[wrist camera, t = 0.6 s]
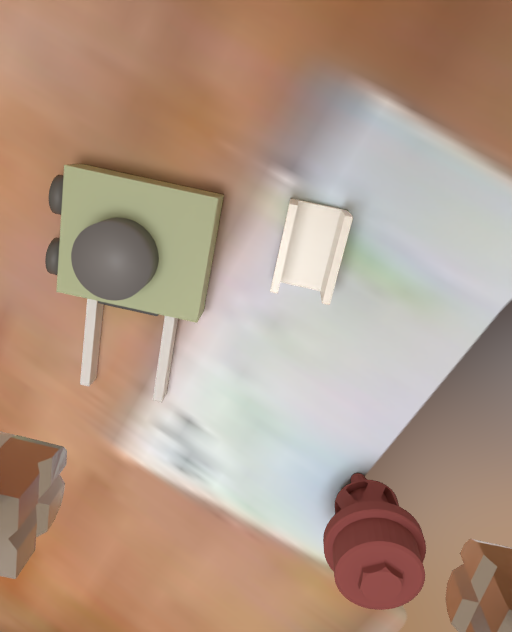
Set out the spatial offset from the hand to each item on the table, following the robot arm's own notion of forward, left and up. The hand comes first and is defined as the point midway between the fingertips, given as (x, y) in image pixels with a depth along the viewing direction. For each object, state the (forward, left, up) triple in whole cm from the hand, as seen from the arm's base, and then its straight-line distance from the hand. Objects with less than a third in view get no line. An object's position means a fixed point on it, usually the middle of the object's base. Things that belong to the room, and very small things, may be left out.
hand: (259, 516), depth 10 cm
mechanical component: (+28, +15, -39) cm, 51 cm away
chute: (+1, +2, -39) cm, 39 cm away
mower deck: (+10, -15, -39) cm, 43 cm away
